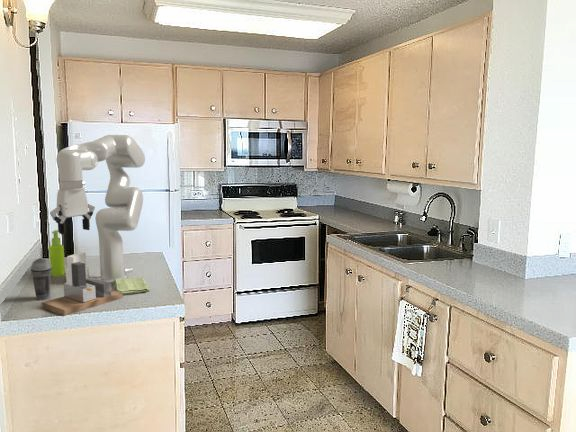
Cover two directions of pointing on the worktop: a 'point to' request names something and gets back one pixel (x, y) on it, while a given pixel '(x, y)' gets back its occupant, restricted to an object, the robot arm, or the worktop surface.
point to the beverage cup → (41, 278)
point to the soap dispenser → (57, 256)
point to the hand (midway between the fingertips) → (74, 231)
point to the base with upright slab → (73, 259)
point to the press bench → (72, 306)
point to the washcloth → (131, 285)
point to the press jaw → (79, 285)
